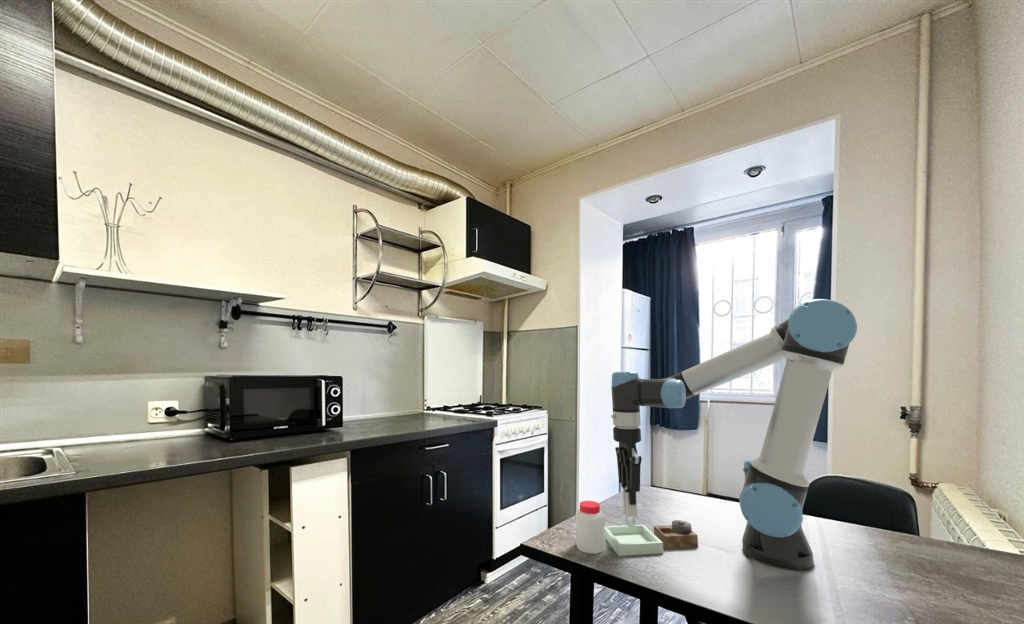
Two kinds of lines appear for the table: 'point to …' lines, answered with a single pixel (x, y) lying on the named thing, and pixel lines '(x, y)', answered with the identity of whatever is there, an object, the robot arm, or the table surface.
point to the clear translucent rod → (629, 520)
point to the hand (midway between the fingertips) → (630, 514)
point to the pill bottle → (590, 528)
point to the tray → (633, 540)
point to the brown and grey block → (676, 535)
